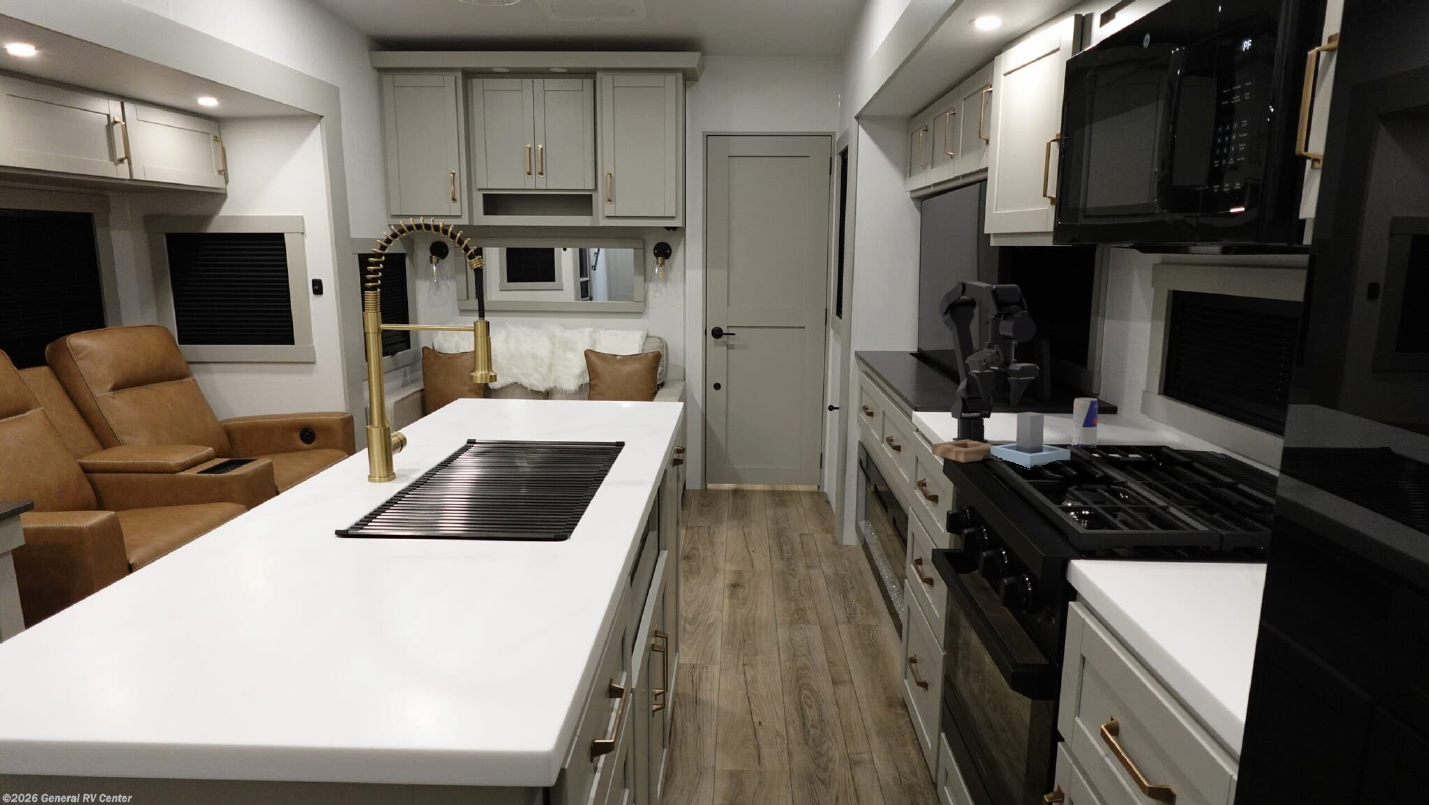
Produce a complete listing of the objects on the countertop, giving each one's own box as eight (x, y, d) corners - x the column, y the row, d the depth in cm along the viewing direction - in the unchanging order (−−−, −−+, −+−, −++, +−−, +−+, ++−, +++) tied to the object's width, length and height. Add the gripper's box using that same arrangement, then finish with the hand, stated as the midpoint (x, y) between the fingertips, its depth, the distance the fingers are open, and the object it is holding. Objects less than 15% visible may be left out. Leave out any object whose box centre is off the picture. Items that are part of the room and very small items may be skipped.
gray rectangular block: (1015, 456, 181) (1017, 413, 180) (1029, 454, 183) (1030, 411, 182) (1029, 459, 178) (1030, 415, 176) (1042, 457, 179) (1043, 414, 178)
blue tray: (990, 459, 184) (990, 446, 183) (1029, 453, 188) (1029, 441, 188) (1029, 469, 173) (1030, 455, 172) (1069, 463, 177) (1070, 450, 177)
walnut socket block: (932, 454, 191) (932, 443, 191) (967, 449, 195) (967, 439, 195) (963, 462, 181) (963, 451, 181) (1000, 457, 185) (1000, 446, 185)
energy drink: (1100, 449, 191) (1102, 400, 190) (1077, 449, 192) (1079, 400, 190) (1090, 444, 197) (1092, 397, 195) (1068, 445, 197) (1070, 397, 195)
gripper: (947, 337, 191) (945, 400, 194) (1005, 343, 175) (1002, 412, 177) (983, 334, 196) (980, 396, 198) (1042, 340, 179) (1039, 408, 182)
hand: (998, 403), depth 189 cm, fingers open, 9 cm apart
